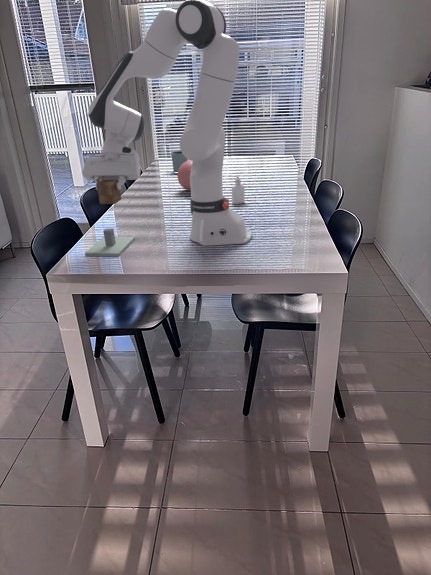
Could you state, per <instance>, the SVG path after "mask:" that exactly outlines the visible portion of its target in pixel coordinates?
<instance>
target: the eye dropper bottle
mask: <svg viewBox="0 0 431 575" xmlns="http://www.w3.org/2000/svg"><path fill="white" fill-rule="evenodd" d="M234 181H235V182H234V184H233V185H232V187H231V203H232V204H234V205H240V204H244V203H245V201H246V199H245V197H246V196H245V186H244V185H243V184H242V180H241V179H240V177H239V175H237V176H236V178H235V179H234Z"/></svg>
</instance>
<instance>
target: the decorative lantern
mask: <svg viewBox="0 0 431 575" xmlns="http://www.w3.org/2000/svg"><path fill="white" fill-rule="evenodd" d="M191 169H192V160H190V159H188V160H187V161H186V162H184V163H183V164H182V165H181V166H180V168H179V170H178V174H177V180H178V183H179V185H180V187H181V188H182V189H184V190H186V191H188V192H191V187H190V173H191Z"/></svg>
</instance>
